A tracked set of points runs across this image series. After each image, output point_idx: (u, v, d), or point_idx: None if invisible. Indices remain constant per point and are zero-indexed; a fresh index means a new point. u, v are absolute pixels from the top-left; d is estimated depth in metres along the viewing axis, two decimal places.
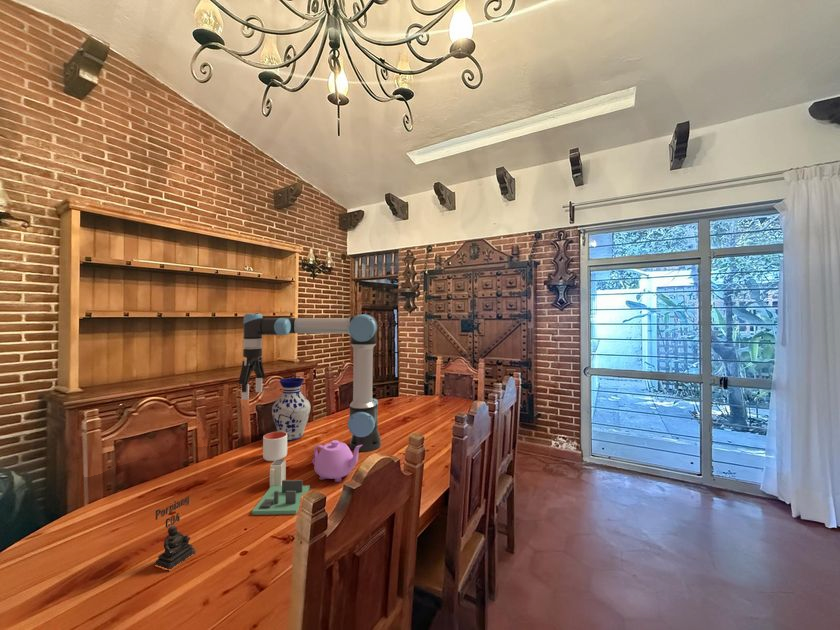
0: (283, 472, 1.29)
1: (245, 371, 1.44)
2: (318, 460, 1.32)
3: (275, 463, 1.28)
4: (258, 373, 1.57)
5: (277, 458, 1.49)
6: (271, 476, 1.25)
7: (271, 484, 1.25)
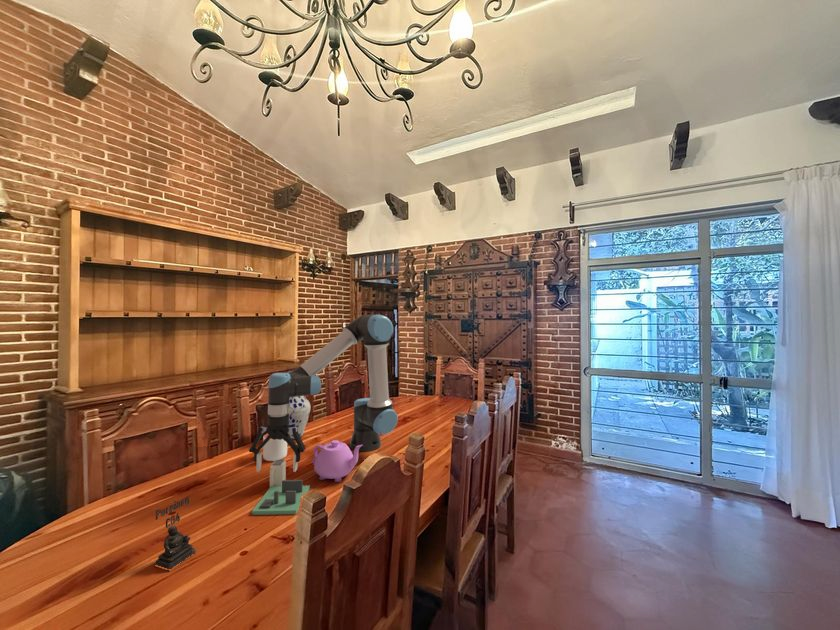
0: (283, 472, 1.29)
1: None
2: (318, 460, 1.32)
3: (275, 463, 1.28)
4: None
5: (277, 458, 1.49)
6: (271, 476, 1.25)
7: (271, 484, 1.25)
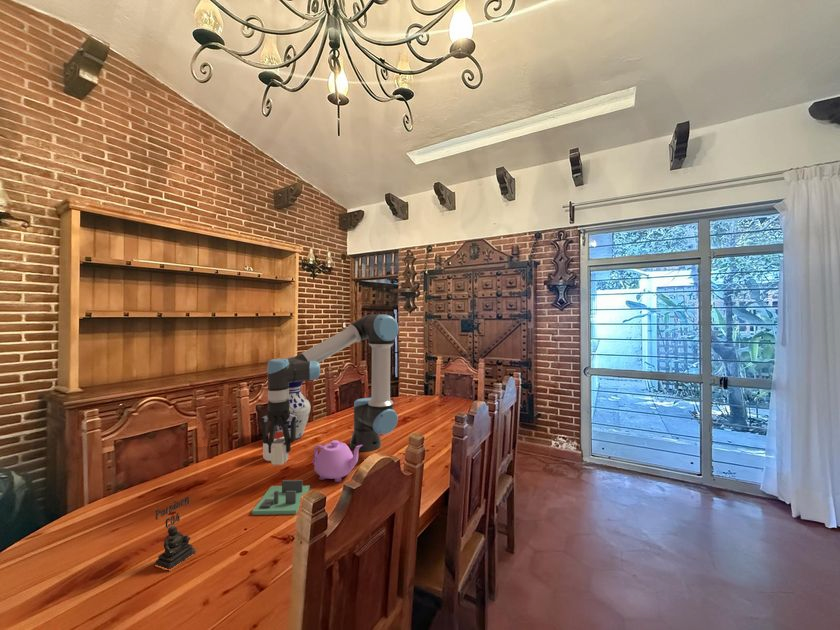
0: None
1: None
2: (318, 460, 1.32)
3: (276, 441, 1.28)
4: None
5: None
6: (272, 454, 1.26)
7: (273, 462, 1.26)
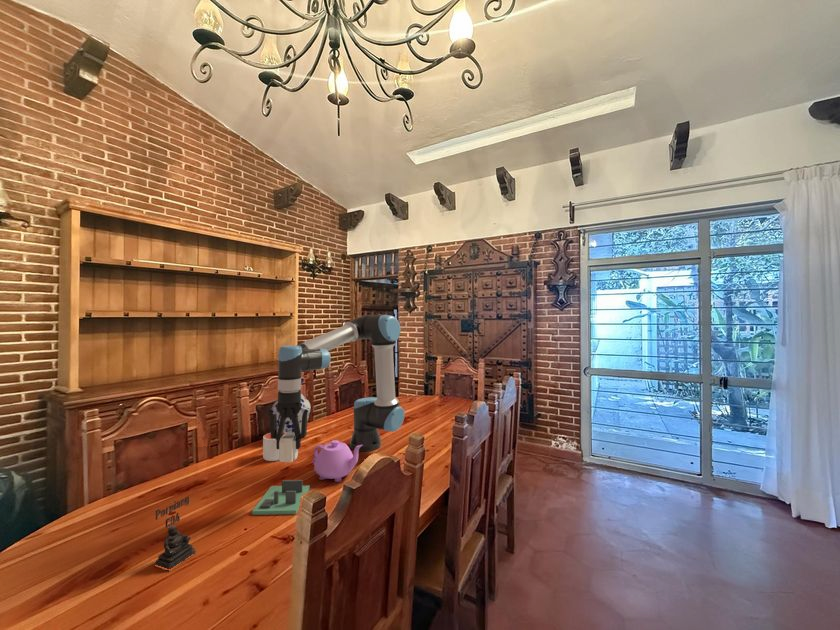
0: None
1: None
2: (318, 460, 1.32)
3: (285, 436, 1.16)
4: None
5: (277, 458, 1.49)
6: (281, 450, 1.14)
7: (281, 458, 1.14)
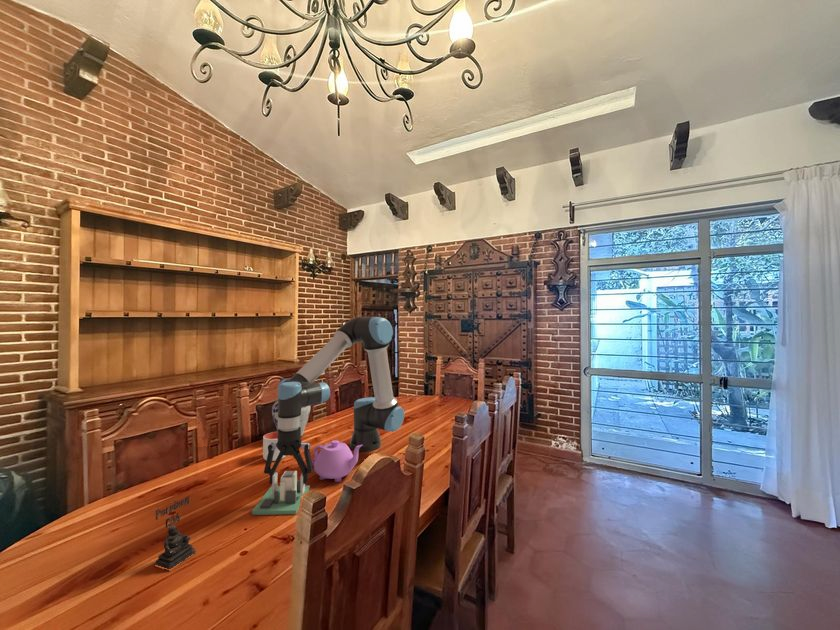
0: (294, 484, 1.18)
1: None
2: (318, 460, 1.32)
3: (286, 475, 1.16)
4: None
5: None
6: (282, 489, 1.14)
7: (282, 498, 1.14)
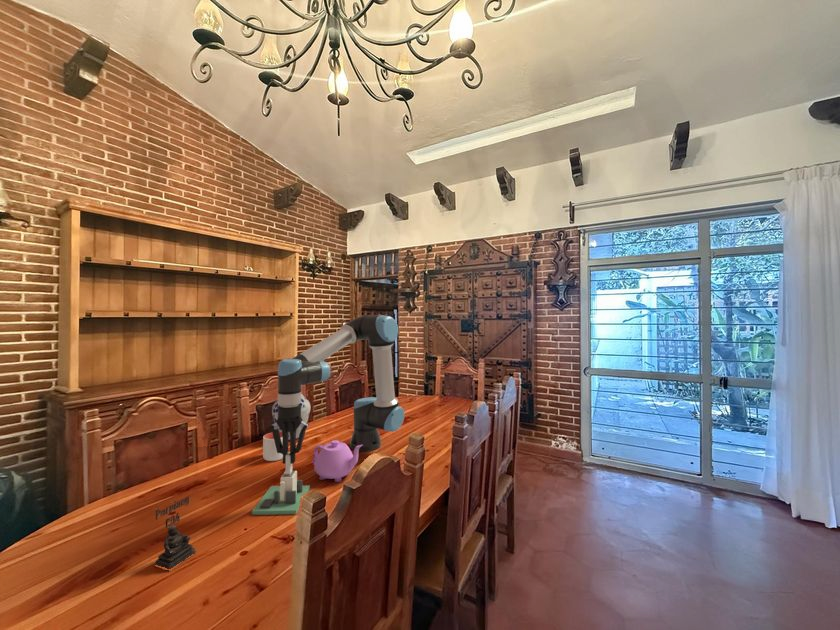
0: (294, 484, 1.18)
1: None
2: (318, 460, 1.32)
3: (286, 475, 1.16)
4: None
5: (277, 458, 1.49)
6: (282, 489, 1.14)
7: (282, 498, 1.14)
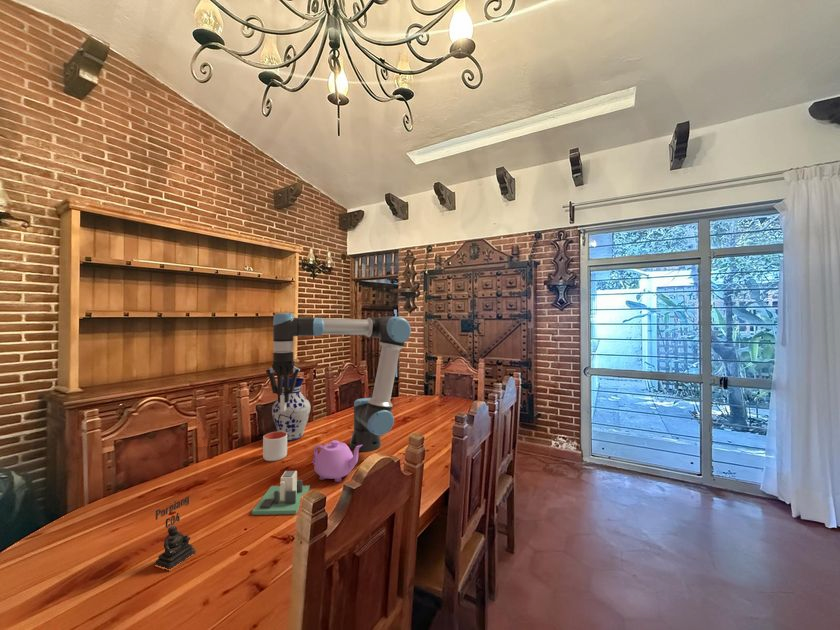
0: (294, 484, 1.18)
1: None
2: (318, 460, 1.32)
3: (286, 475, 1.16)
4: None
5: (277, 458, 1.49)
6: (282, 489, 1.14)
7: (282, 498, 1.14)
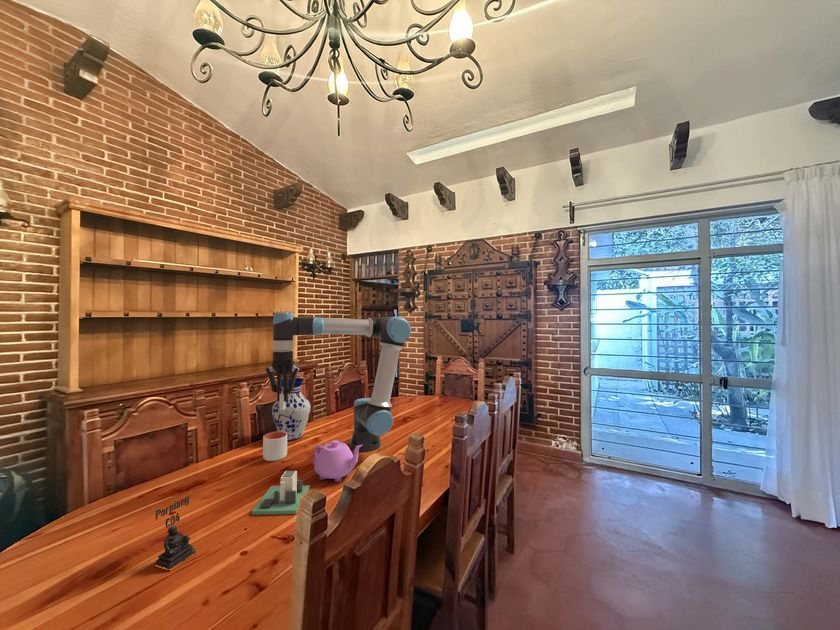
0: (294, 484, 1.18)
1: None
2: (318, 460, 1.32)
3: (286, 475, 1.16)
4: None
5: (277, 458, 1.49)
6: (282, 489, 1.14)
7: (282, 498, 1.14)
